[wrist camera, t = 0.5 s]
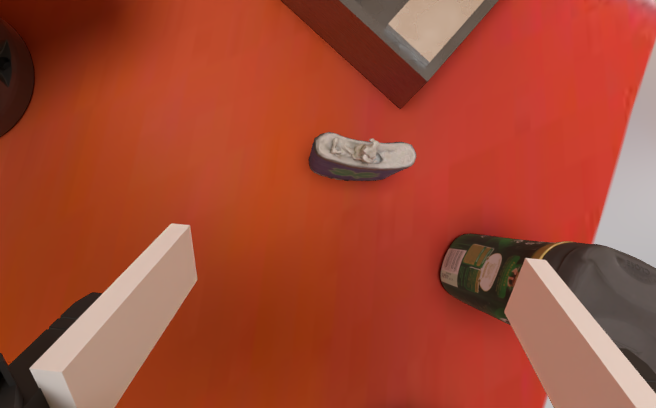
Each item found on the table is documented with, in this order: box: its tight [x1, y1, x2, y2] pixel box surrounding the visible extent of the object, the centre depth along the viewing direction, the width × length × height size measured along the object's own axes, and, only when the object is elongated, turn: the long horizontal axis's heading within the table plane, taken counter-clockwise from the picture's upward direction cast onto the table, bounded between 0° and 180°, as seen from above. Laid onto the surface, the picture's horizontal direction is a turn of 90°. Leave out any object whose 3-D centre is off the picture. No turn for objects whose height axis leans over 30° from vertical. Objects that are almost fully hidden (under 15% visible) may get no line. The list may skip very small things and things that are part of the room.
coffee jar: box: [440, 234, 656, 374], centre depth 30 cm, size 10×8×19 cm
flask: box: [309, 132, 416, 181], centre depth 33 cm, size 9×3×11 cm, turn 84°
